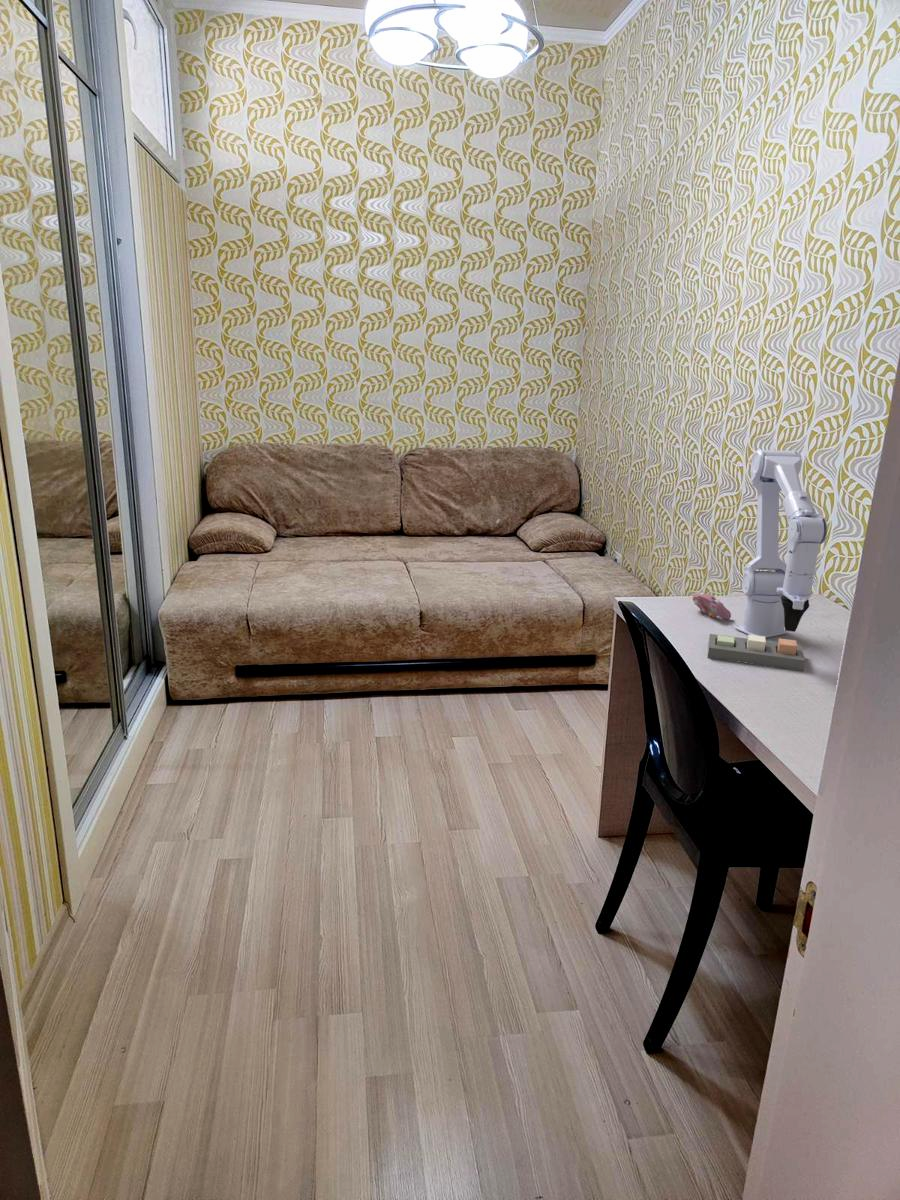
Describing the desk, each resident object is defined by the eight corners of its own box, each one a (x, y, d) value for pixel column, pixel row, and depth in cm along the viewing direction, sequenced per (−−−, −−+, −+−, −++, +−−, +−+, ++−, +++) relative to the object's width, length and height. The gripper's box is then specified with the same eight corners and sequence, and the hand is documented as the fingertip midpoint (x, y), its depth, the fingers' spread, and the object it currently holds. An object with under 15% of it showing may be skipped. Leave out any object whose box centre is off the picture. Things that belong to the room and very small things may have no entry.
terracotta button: (793, 652, 179) (796, 640, 178) (795, 658, 176) (797, 646, 175) (776, 650, 180) (778, 638, 179) (777, 656, 177) (779, 644, 176)
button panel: (799, 655, 182) (801, 645, 181) (803, 670, 174) (805, 660, 173) (708, 643, 188) (709, 633, 187) (707, 657, 179) (708, 647, 179)
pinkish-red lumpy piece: (694, 615, 211) (687, 594, 208) (707, 606, 212) (701, 584, 208) (720, 627, 202) (713, 605, 199) (733, 618, 203) (727, 596, 200)
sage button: (732, 649, 183) (734, 637, 182) (732, 655, 180) (734, 642, 179) (716, 647, 184) (717, 635, 183) (715, 652, 181) (717, 640, 180)
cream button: (763, 648, 181) (765, 636, 180) (763, 654, 178) (765, 642, 177) (746, 646, 182) (748, 634, 181) (746, 652, 179) (748, 640, 178)
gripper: (778, 560, 179) (769, 617, 184) (782, 578, 166) (772, 639, 171) (812, 564, 177) (802, 621, 182) (818, 582, 164) (807, 643, 169)
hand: (789, 630), depth 176 cm, fingers closed
